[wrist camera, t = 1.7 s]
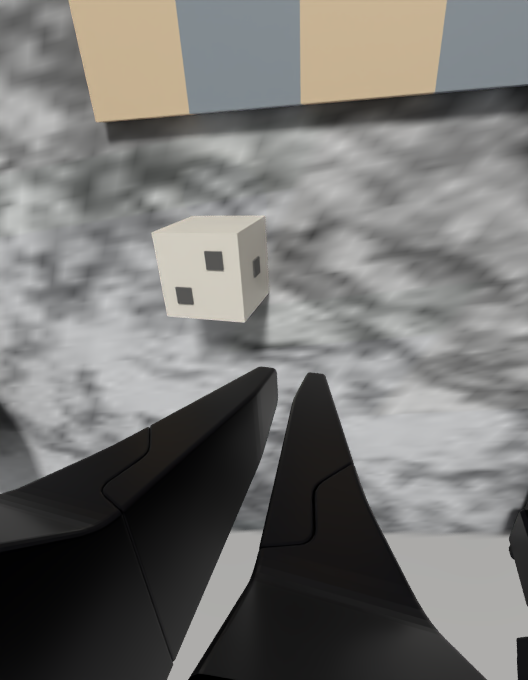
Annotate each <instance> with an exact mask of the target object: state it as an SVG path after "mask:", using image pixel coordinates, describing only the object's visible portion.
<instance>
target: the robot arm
mask: <svg viewBox="0 0 528 680" xmlns="http://www.w3.org/2000/svg"><path fill="white" fill-rule="evenodd" d="M277 401H278V388H277V372H276V370H275V369H274V368H269V367H258V368H256V369H254V370H252V371H250V372H248V373H247V374H245V375H243V376H241V377H239V378H237V379H236V380H234V381H232V382H230V383H228V384H226V385H224V386H223V387H221V388H219V389H217V390H215V391H213V392H212V393H210V394H208V395H206V396H204V397H202V398H200V399H199V400H197V401H195V402H193V403H191V404H189V405H187V406H186V407H184V408H182V409H180V410H178V411H176V412H175V413H173V414H171V415H169V416H167V417H165V418H163V419H162V420H160V421H158V422H156V423H154V424H152V425H151V426H150V428H149V427H147V428H145V429H143V430H141V431H139V432H137V433H136V434H134V435H132V436H130V437H128V438H126V439H124V440H122V441H120V442H118V443H116V444H114V445H112V446H110V447H108V448H106V449H104V450H102V451H100V452H98V453H96V454H93V455H91V456H89V457H87V458H85V459H83V460H80V461H78V462H76V463H74V464H72V465H69V466H67V467H65V468H63V469H60V470H58V471H56V472H54V473H52V474H49V475H47V476H45V477H43V478H41V479H38V480H36V481H34V482H32V483H30V484H27V485H25V486H23V487H20V488H18V489H15V490H12V491H9V492H6V493H3V494H0V680H167V678H168V675H169V673H170V671H171V668H172V666H173V661H174V660H175V659H176V656H177V654H178V652H179V649H180V647H181V645H182V642H183V640H184V637H185V635H186V633H187V631H188V628H189V626H190V624H191V621H192V619H193V617H194V614H195V612H196V610H197V607H198V605H199V603H200V600H201V598H202V595H203V593H204V591H205V589H206V586H207V584H208V582H209V580H210V577H211V575H212V573H213V570H214V568H215V566H216V563H217V561H218V559H219V556H220V554H221V551H222V549H223V547H224V545H225V542H226V540H227V538H228V535H229V533H230V531H231V528H232V526H233V524H234V521H235V519H236V517H237V514H238V512H239V510H240V507H241V505H242V503H243V500H244V498H245V496H246V493H247V491H248V489H249V486H250V484H251V482H252V479H253V477H254V475H255V472H256V470H257V468H258V465H259V463H260V460H261V458H262V455H263V451H264V448H265V445H266V441H267V438H268V434H269V431H270V427H271V424H272V420H273V417H274V414H275V410H276V407H277ZM509 541H510V547H509V551H510V555H511V557H512V558H513V559H514V560H515V563H516V567H517V571H518V574H519V578H520V581H521V585H522V589H523V593H524V596H525V600H526V604H527V606H528V501H527V503H526V506H525V508H524V509H522V510H521V511H520V512H519V514H518V516H517V519H516V521H515V524H514V526H513V529H512V532H511V534H510V537H509ZM517 670H518V680H528V637H521V638H517ZM188 680H487V679H486V678H484V676H483V675H481V673H479V671H477V670H476V669H475V668H474V667H473V666H472V665H471V664H470V663H469V662H468V661H467V660H466V659H465V658H464V657H463V656H462V655H461V654H460V653H459V652H458V651H457V650H456V649H455V648H454V647H453V646H452V645H451V644H450V643H449V642H448V641H447V640H446V639H445V638H444V637H443V636H442V635H441V634H440V633H439V632H438V630H437V629H436V628H435V627H434V625H433V624H432V623H431V621H430V620H429V618H428V617H427V616H426V614H425V613H424V611H423V609H422V608H421V606H420V604H419V603H418V601H417V599H416V597H415V595H414V593H413V592H412V590H411V588H410V586H409V584H408V582H407V580H406V578H405V576H404V574H403V572H402V570H401V568H400V566H399V564H398V562H397V561H396V558H395V557H394V555H393V553H392V551H391V549H390V547H389V545H388V543H387V541H386V539H385V537H384V535H383V533H382V531H381V529H380V527H379V525H378V523H377V521H376V519H375V517H374V514H373V512H372V510H371V508H370V506H369V504H368V501H367V499H366V496H365V494H364V491H363V488H362V486H361V483H360V480H359V477H358V474H357V471H356V468H355V466H354V463H353V460H352V457H351V454H350V450H349V447H348V444H347V441H346V438H345V435H344V432H343V429H342V426H341V423H340V420H339V417H338V414H337V410H336V407H335V404H334V401H333V398H332V395H331V392H330V389H329V386H328V383H327V380H326V377H325V375H324V374H319V373H311V372H310V373H307V375H306V376H305V378H304V380H303V382H302V384H301V386H300V388H299V389H298V391H297V393H296V395H295V397H294V400H293V403H292V407H291V411H290V416H289V420H288V424H287V429H286V433H285V437H284V442H283V446H282V451H281V455H280V459H279V464H278V468H277V472H276V477H275V481H274V486H273V490H272V494H271V499H270V503H269V507H268V512H267V516H266V521H265V525H264V529H263V534H262V538H261V543H260V547H259V552H258V556H257V560H256V563H255V567H254V570H253V573H252V576H251V579H250V581H249V583H248V585H247V586H246V588H245V590H244V591H243V593H242V594H241V596H240V598H239V599H238V601H237V602H236V604H235V606H234V607H233V609H232V610H231V612H230V614H229V615H228V617H227V618H226V620H225V622H224V623H223V625H222V627H221V628H220V630H219V632H218V633H217V634H216V636H215V638H214V639H213V641H212V642H211V644H210V646H209V647H208V649H207V651H206V652H205V654H204V655H203V657H202V659H201V660H200V662H199V663H198V665H197V667H196V668H195V670H194V671H193V673H192V675H191V676H190V678H189V679H188Z"/></svg>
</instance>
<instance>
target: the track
mask: <svg viewBox="0 0 528 680" xmlns="http://www.w3.org/2000/svg"><path fill="white" fill-rule="evenodd" d="M69 5H70V9H71V14H72V18H73V22H74V27H75V31H76V36H77V40H78V45H79V49H80V53H81V58H82V62H83V67H84V71H85V75H86V80H87V84H88V89H89V93H90V98H91V102H92V106H93V111H94V115H95V120H96V122H117V121H129V120H140V119H152V118H163V117H175V116H186V115H198V114H209V113H221V112H232V111H244V110H255V109H267V108H278V107H290V106H301V105H313V104H324V103H336V102H347V101H359V100H370V99H382V98H393V97H405V96H416V95H428V94H439V93H451V92H462V91H474V90H485V89H497V88H508V87H520V86H528V0H69Z"/></svg>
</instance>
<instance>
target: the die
mask: <svg viewBox="0 0 528 680" xmlns="http://www.w3.org/2000/svg"><path fill="white" fill-rule="evenodd" d="M152 238H153V243H154V248H155V253H156V259H157V264H158V269H159V274H160V280H161V285H162V290H163V295H164V301H165V306H166V311H167V316H170V317H183V318H195V319H207V320H219V321H231V322H243V323H245V322H246V321H247V319H248V318H249V317H250V316H251V314H252V313H253V312H254V311H255V309H256V308H257V307H258V306H259V304H260V303H261V302H262V301H263V300H264V298H265V297H266V296H267V295H268V293H269V276H268V257H267V238H266V219H265V216H191V217H189V218H186V219H184V220H181V221H179V222H176V223H174V224H171V225H169V226H166V227H164V228H161V229H159V230H156V231H154V232H152Z"/></svg>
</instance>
